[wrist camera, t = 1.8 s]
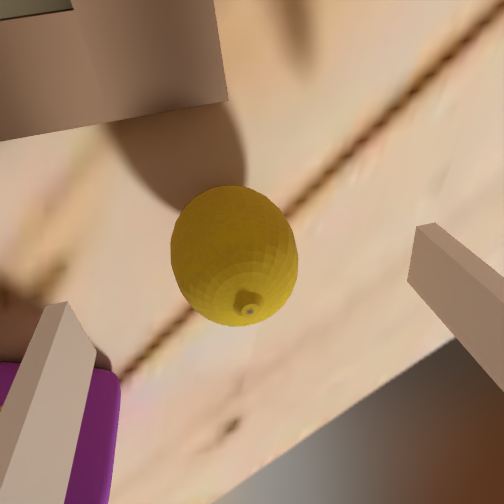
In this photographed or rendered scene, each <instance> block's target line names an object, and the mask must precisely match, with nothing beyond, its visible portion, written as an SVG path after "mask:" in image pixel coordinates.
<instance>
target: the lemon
mask: <svg viewBox="0 0 504 504" xmlns="http://www.w3.org/2000/svg"><path fill="white" fill-rule="evenodd" d="M171 265H172V269H173V272H174V275H175V278H176V281H177V283H178V286H179V288H180V290H181V292H182V294H183V296H184V297H185V298H186V300H187V301H188V302H189V304H190V305H191V306H192V307H193V309H194V310H196V311H197V312H198V313H200V314H201V315H202V316H204V317H205V318H207V319H208V320H211V321H213V322H216V323H218V324H222V325H227V326H246V325H251V324H255V323H258V322H260V321H263V320H265V319H267V318H268V317H270V316H272V315H273V314H275V313H276V312H277V311H278V310H279V309H280V308H281V307H282V306H283V305H284V304H285V302H286V301H287V299H288V298H289V296H290V295H291V293H292V290H293V288H294V285H295V282H296V279H297V272H298V253H297V248H296V243H295V239H294V235H293V232H292V229H291V227H290V225H289V223H288V222H287V220H286V218H285V217H284V215H283V213H282V212H281V210H280V209H279V208H278V207H277V206H276V205H275V204H274V203H272V202H271V201H270V200H269V199H268V198H267V197H266V196H264V195H262V194H260V193H258V192H256V191H254V190H252V189H250V188H246V187H241V186H236V185H229V186H219V187H215V188H212V189H208V190H206V191H205V192H203V193H201V194H199V195H197V196H196V197H195V198H194V199H193V200H192V201H191V202H190V203H188V204H187V205H186V206H185V208H184V209H183V211H182V213H181V214H180V216H179V217H178V219H177V221H176V223H175V227H174V230H173V234H172V237H171Z"/></svg>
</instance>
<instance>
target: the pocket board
mask: <svg viewBox="0 0 504 504" xmlns="http://www.w3.org/2000/svg"><path fill="white" fill-rule="evenodd" d="M224 101H229V100H228V93H227V87H226V80H225V74H224V67H223V61H222V54H221V47H220V41H219V34H218V28H217V21H216V15H215V8H214V2H213V0H0V141H6V140H11V139H17V138H22V137H28V136H34V135H39V134H45V133H50V132H56V131H62V130H67V129H73V128H78V127H84V126H90V125H95V124H101V123H106V122H112V121H117V120H123V119H129V118H134V117H140V116H145V115H151V114H157V113H162V112H168V111H173V110H179V109H185V108H190V107H196V106H201V105H207V104H213V103H218V102H224Z"/></svg>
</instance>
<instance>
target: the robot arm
mask: <svg viewBox="0 0 504 504" xmlns="http://www.w3.org/2000/svg"><path fill="white" fill-rule="evenodd" d="M407 282H408V283H409V284H410V285H411V286H412V287H413V289H414V290H415V291H416V292H417V293H418V294H419V295H420V297H421V298H422V299H423V300H424V301H425V302H426V303H427V305H428V306H429V307H430V308H431V309H432V310H433V311H434V313H435V314H436V315H437V316H438V317H439V318H440V319H441V321H442V322H443V323H444V324H445V325H446V326H447V327H448V329H449V330H450V331H451V332H452V333H453V334H454V336H455V337H456V338H457V339H458V340H459V341H460V342H461V344H462V345H463V346H464V347H465V348H466V349H467V350H468V351H469V353H470V354H471V355H472V356H473V357H474V358H475V360H476V361H477V362H478V363H479V364H480V365H481V366H482V368H483V369H484V370H485V371H486V372H487V373H488V374H489V376H490V377H491V378H492V379H493V380H494V381H495V382H496V383H497V385H498V386H499V387H500V388H501V389H502V390H503V392H504V277H502V276H501V275H500V274H499V273H497V272H496V271H495V270H494V269H492V268H491V267H490V266H489V265H487V264H486V263H485V262H484V261H482V260H481V259H480V258H479V257H477V256H476V255H475V254H474V253H472V252H471V251H470V250H469V249H467V248H466V247H465V246H464V245H462V244H461V243H460V242H459V241H457V240H456V239H455V238H454V237H452V236H451V235H450V234H449V233H448V232H446V231H445V230H444V229H443V228H441V227H440V226H439V225H438V224H436V223H431V224H426V225H421V226H417V227H416V232H415V238H414V244H413V250H412V256H411V262H410V267H409V273H408V279H407ZM96 354H97V351H96V349H95V348H94V346H93V344H92V343H91V341H90V339H89V337H88V336H87V334H86V332H85V330H84V329H83V327H82V325H81V324H80V322H79V320H78V318H77V317H76V315H75V313H74V311H73V310H72V308H71V306H70V305H69V303H68V301H67V302H62V303H57V304H53V305H48V306H45V308H44V311H43V313H42V315H41V318H40V320H39V322H38V325H37V327H36V329H35V332H34V334H33V336H32V339H31V341H30V343H29V346H28V348H27V350H26V353H25V355H24V357H23V360H22V362H21V364H20V367H19V369H18V372H17V374H16V376H15V379H14V381H13V383H12V386H11V388H10V390H9V393H8V395H7V397H6V400H5V402H4V404H3V407H2V409H1V411H0V504H64V500H65V496H66V491H67V487H68V482H69V477H70V473H71V468H72V464H73V459H74V455H75V450H76V445H77V441H78V436H79V432H80V427H81V422H82V418H83V413H84V409H85V404H86V399H87V395H88V390H89V386H90V381H91V376H92V372H93V367H94V363H95V358H96Z"/></svg>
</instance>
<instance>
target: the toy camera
mask: <svg viewBox="0 0 504 504" xmlns="http://www.w3.org/2000/svg"><path fill="white" fill-rule="evenodd" d="M20 364H21V363H8V362H0V411H1V409H2V407H3V404H4V402H5V400H6V397H7V395H8V393H9V390H10V388H11V386H12V383H13V381H14V379H15V376H16V374H17V372H18V369H19V367H20ZM120 398H121V390H120V383H119V379H118V377H117V376H116V374H114V373H113V372H111V371H108V370H104V369H96V368H93V372H92V376H91V381H90V386H89V390H88V395H87V399H86V404H85V409H84V413H83V418H82V422H81V427H80V432H79V436H78V441H77V445H76V450H75V455H74V459H73V464H72V468H71V473H70V477H69V482H68V487H67V491H66V496H65V500H64V504H108V501H109V495H110V487H111V480H112V472H113V463H114V455H115V446H116V437H117V428H118V420H119V411H120Z"/></svg>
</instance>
